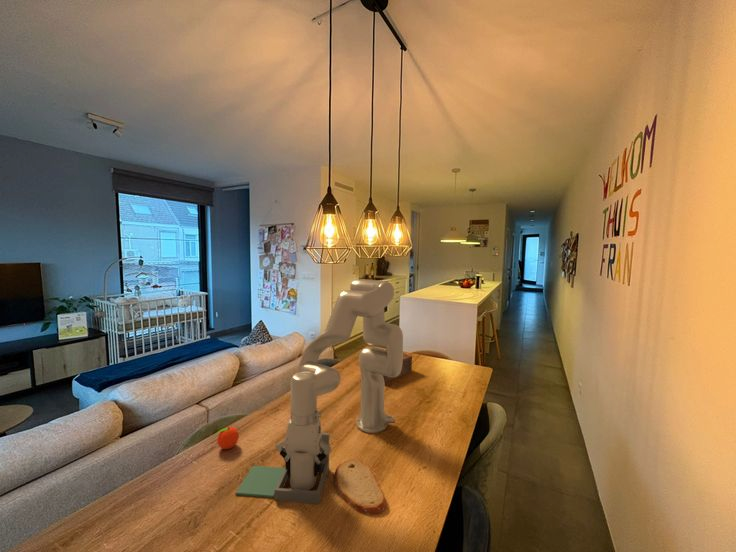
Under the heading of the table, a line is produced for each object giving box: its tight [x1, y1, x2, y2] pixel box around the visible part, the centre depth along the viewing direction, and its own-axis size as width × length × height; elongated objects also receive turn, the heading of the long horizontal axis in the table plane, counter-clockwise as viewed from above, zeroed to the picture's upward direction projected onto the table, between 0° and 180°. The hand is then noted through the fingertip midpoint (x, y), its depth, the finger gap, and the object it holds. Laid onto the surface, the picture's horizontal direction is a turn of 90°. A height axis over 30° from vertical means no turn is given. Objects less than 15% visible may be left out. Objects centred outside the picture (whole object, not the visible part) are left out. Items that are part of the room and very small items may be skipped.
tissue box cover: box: [383, 352, 413, 383], centre depth 174 cm, size 26×14×10 cm, turn 133°
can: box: [289, 451, 317, 491], centre depth 90 cm, size 8×8×12 cm
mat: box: [235, 465, 286, 499], centre depth 91 cm, size 11×11×1 cm
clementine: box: [213, 426, 240, 450], centre depth 106 cm, size 8×7×7 cm
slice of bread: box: [333, 458, 387, 516], centre depth 90 cm, size 18×18×4 cm
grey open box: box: [274, 432, 330, 505], centre depth 90 cm, size 13×14×13 cm
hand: (303, 472), depth 90 cm, fingers closed on can, 7 cm apart
